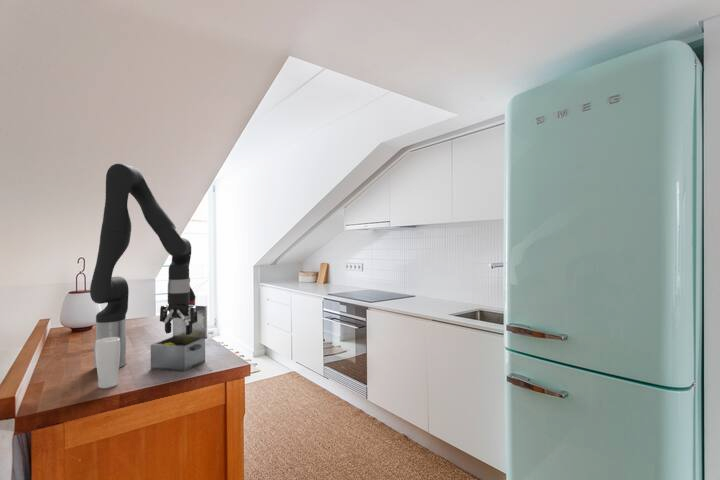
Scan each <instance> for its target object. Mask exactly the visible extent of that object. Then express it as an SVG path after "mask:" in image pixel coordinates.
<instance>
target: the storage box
mask: <svg viewBox="0 0 720 480" xmlns="http://www.w3.org/2000/svg"><path fill="white" fill-rule="evenodd" d="M165 343H174V344H175V345H164V344H165ZM205 362H206V339H205V338H198V337H180V336H173V335H172V336H170V337H167V338H165V339H162V340H160V341H157V342H154V343H151V344H150V370H154V371H155V370H156V371H166V372H167V371H169V372H170V371H171V372H183V373H185V372H187V371H189V370H191V369H193V368H195V367H197V366H199V365H200V364H202V363H205Z"/></svg>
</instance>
